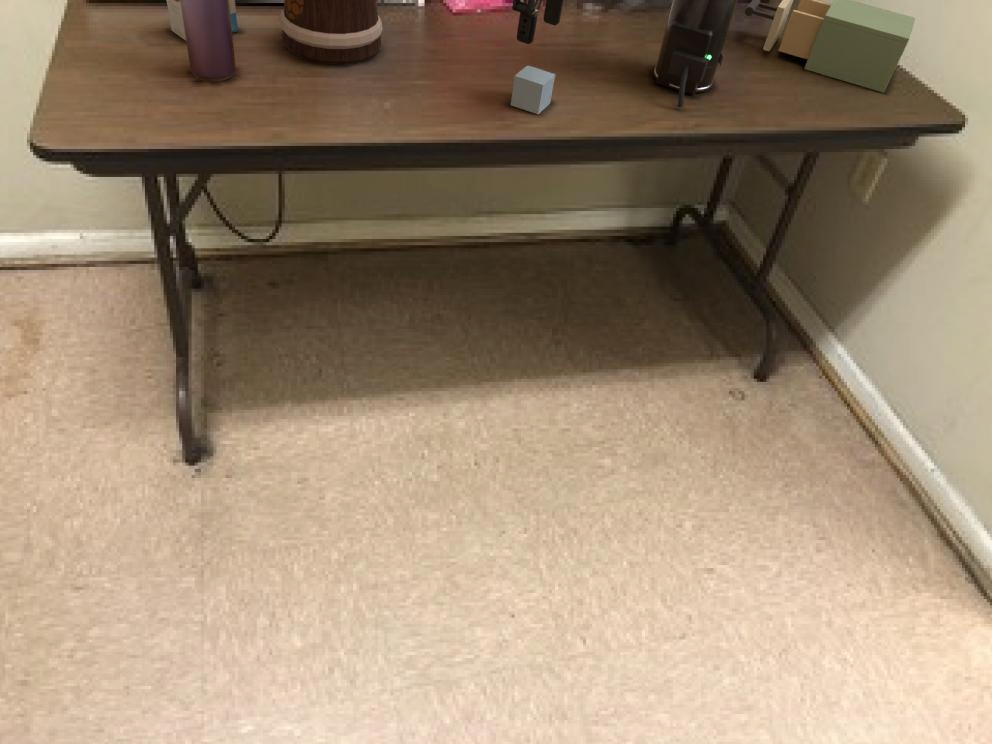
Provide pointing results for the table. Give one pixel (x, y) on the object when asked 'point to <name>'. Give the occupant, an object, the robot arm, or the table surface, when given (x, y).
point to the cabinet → (860, 44)
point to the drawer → (793, 25)
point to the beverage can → (209, 39)
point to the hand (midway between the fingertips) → (537, 32)
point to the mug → (331, 29)
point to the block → (532, 89)
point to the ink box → (177, 17)
